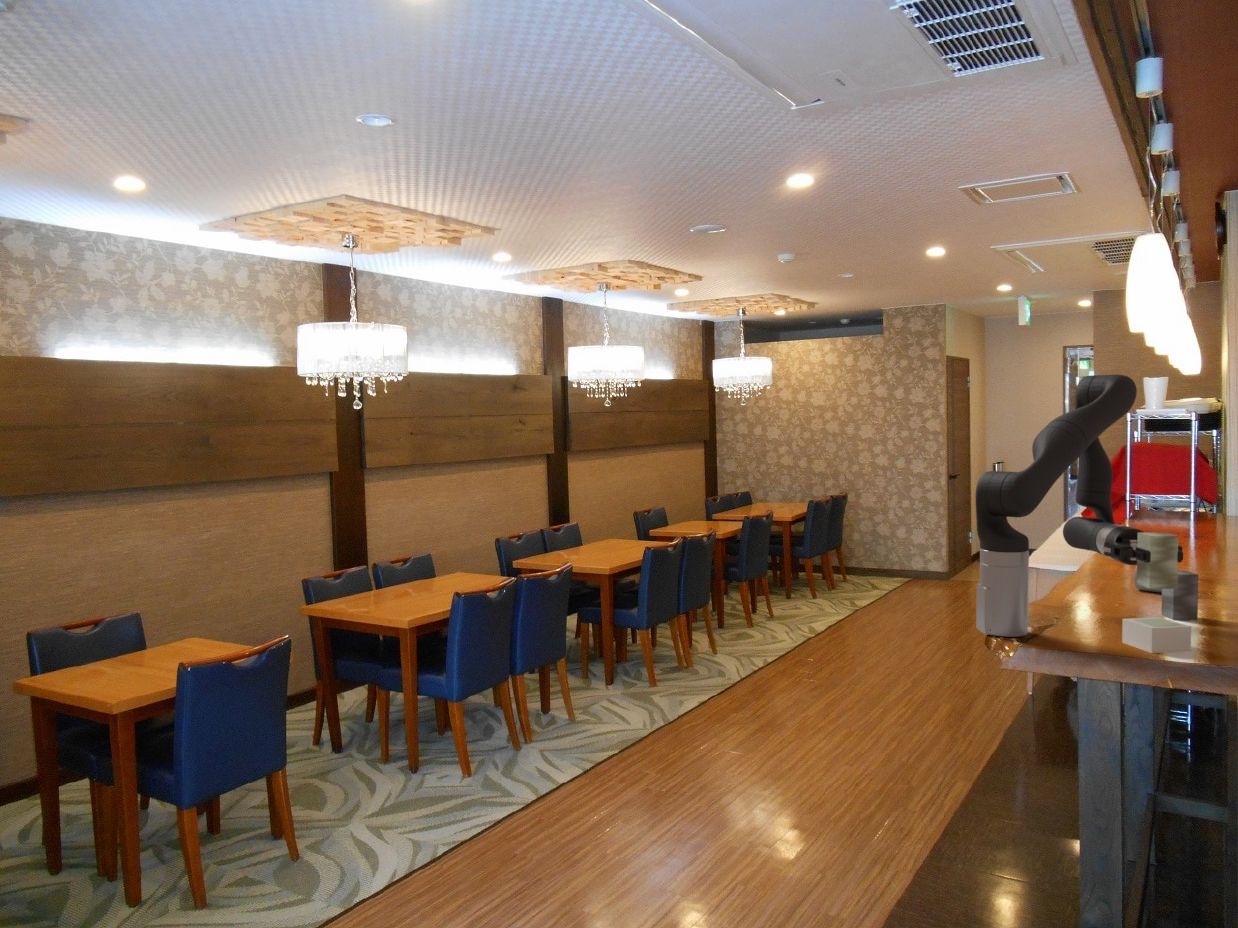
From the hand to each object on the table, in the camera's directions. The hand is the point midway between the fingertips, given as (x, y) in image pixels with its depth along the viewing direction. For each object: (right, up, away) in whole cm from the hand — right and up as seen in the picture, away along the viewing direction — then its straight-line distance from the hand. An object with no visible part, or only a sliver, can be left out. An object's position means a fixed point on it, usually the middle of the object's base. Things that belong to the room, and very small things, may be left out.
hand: (1164, 556), depth 166 cm
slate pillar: (+20, -16, +27) cm, 38 cm away
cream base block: (0, -18, +3) cm, 18 cm away
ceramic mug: (+33, -15, +57) cm, 68 cm away
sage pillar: (0, -6, +3) cm, 7 cm away
